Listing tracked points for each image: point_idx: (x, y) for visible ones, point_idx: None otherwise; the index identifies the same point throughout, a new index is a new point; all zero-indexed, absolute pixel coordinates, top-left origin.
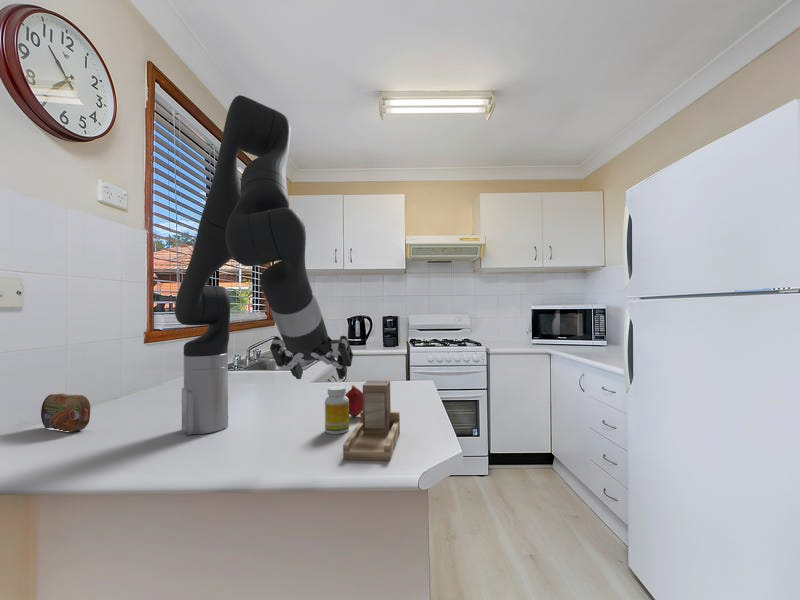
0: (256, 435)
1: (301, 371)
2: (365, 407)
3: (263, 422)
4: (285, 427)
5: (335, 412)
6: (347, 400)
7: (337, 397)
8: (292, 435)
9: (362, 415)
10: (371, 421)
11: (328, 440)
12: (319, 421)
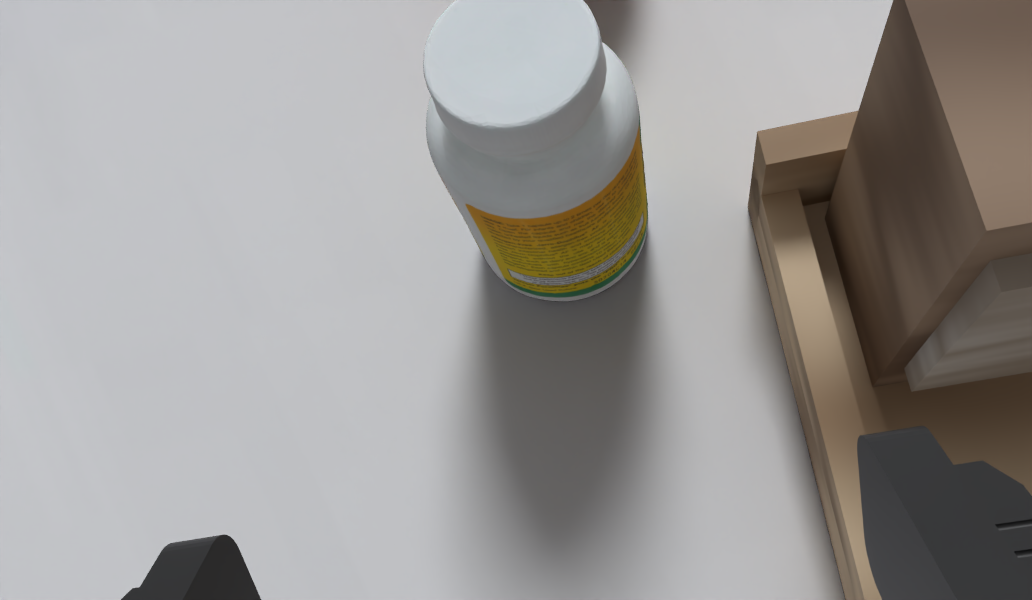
0: (72, 439)
1: (222, 595)
2: (964, 339)
3: (11, 195)
4: (189, 248)
5: (570, 238)
6: (635, 107)
7: (557, 146)
8: (303, 384)
9: (781, 171)
10: (984, 366)
11: (593, 422)
12: (359, 83)
